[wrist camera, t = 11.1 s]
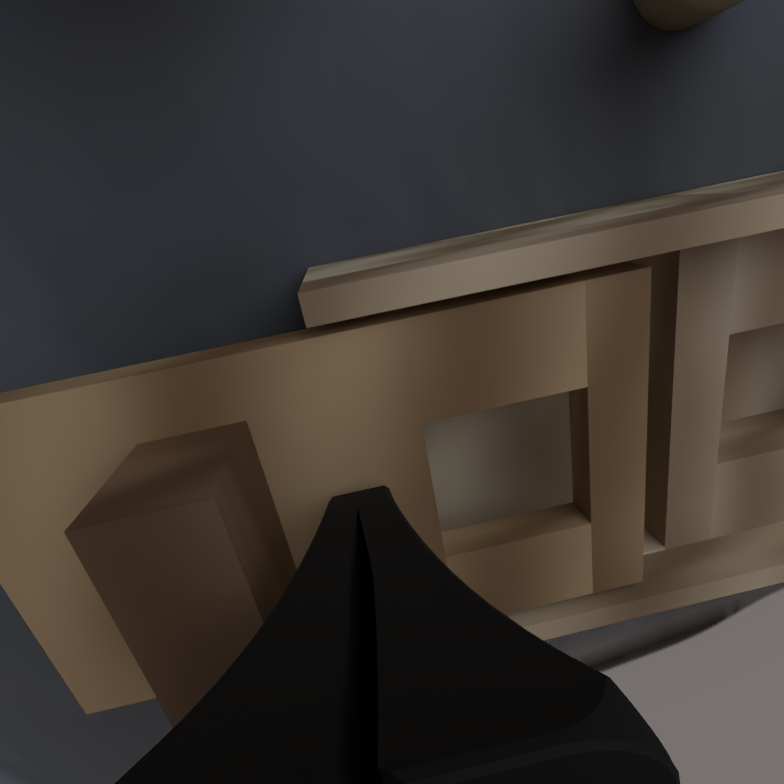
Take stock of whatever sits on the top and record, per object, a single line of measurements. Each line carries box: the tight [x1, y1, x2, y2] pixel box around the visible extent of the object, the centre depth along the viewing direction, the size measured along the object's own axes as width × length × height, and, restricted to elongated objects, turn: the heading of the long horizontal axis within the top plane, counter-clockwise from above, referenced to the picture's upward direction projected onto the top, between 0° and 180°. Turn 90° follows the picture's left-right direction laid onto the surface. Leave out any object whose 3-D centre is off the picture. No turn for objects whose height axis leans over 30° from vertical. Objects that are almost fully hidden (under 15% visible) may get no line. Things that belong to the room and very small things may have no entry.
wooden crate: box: [297, 171, 784, 640], centre depth 14 cm, size 16×11×4 cm
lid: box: [0, 262, 652, 727], centre depth 11 cm, size 16×9×4 cm, turn 100°
